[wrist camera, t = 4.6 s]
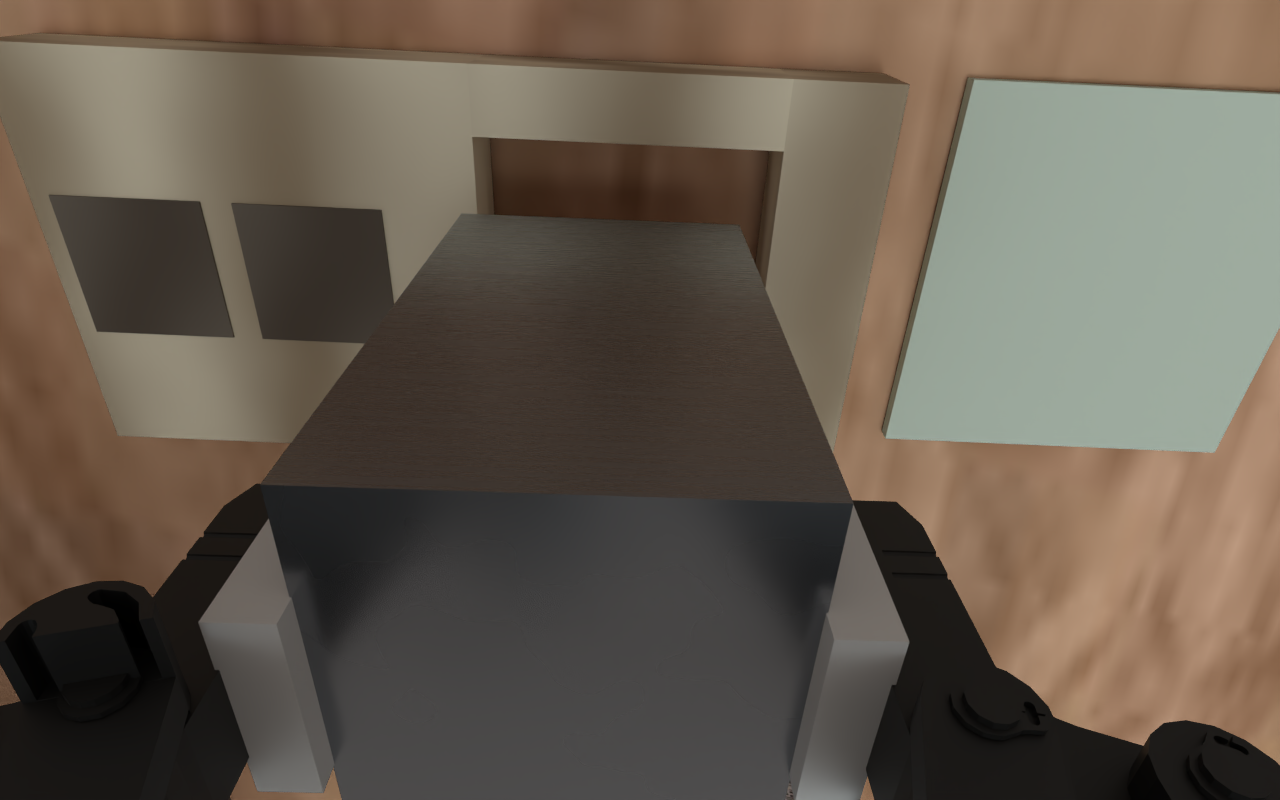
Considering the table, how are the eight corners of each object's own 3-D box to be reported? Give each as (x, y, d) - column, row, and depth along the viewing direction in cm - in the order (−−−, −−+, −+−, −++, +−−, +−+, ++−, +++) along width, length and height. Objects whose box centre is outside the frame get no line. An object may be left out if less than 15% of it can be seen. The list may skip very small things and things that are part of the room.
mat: (881, 431, 23) (885, 438, 22) (968, 77, 18) (974, 79, 17) (1205, 445, 23) (1214, 452, 22) (1382, 97, 18) (1397, 99, 17)
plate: (159, 400, 22) (116, 436, 21) (39, 32, 17) (-31, 40, 16) (816, 428, 23) (830, 467, 21) (884, 73, 18) (910, 84, 16)
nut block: (479, 446, 17) (349, 831, 10) (461, 213, 15) (259, 483, 7) (713, 454, 17) (775, 841, 10) (738, 224, 15) (853, 503, 7)
